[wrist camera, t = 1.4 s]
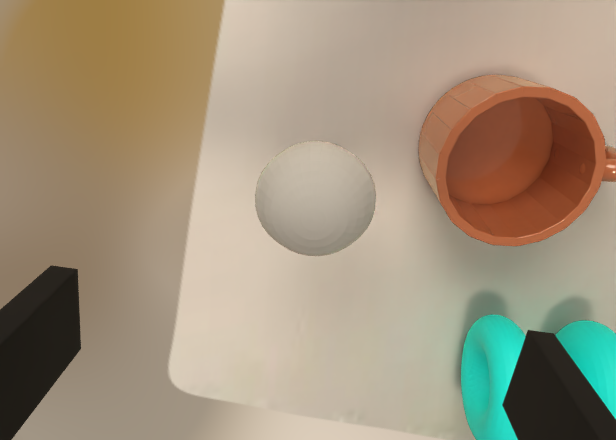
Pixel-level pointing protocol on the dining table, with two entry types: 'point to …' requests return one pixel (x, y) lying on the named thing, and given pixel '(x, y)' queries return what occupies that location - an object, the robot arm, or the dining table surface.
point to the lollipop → (315, 198)
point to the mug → (513, 158)
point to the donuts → (503, 358)
